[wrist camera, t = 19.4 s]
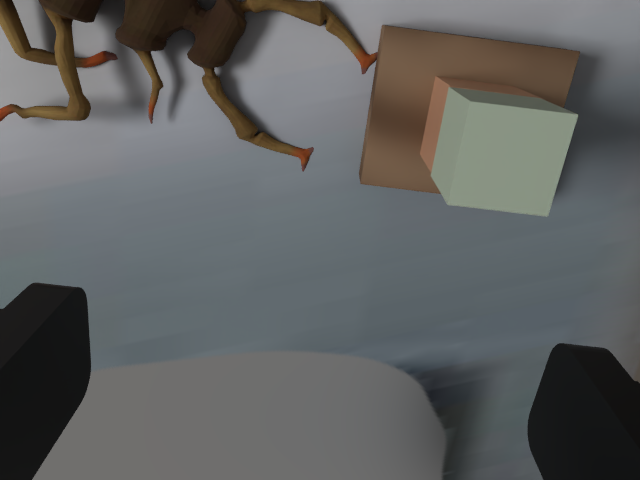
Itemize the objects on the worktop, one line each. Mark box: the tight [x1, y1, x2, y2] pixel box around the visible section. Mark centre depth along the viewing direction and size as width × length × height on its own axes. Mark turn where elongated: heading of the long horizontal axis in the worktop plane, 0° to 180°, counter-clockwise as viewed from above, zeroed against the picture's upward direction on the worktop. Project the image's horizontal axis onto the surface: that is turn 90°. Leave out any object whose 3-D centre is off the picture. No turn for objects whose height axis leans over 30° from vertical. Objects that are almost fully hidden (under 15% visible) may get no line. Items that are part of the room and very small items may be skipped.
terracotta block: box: [420, 76, 543, 172], centre depth 33 cm, size 5×5×5 cm
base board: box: [359, 25, 580, 194], centre depth 36 cm, size 10×12×2 cm
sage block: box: [431, 87, 578, 217], centre depth 28 cm, size 5×5×5 cm
